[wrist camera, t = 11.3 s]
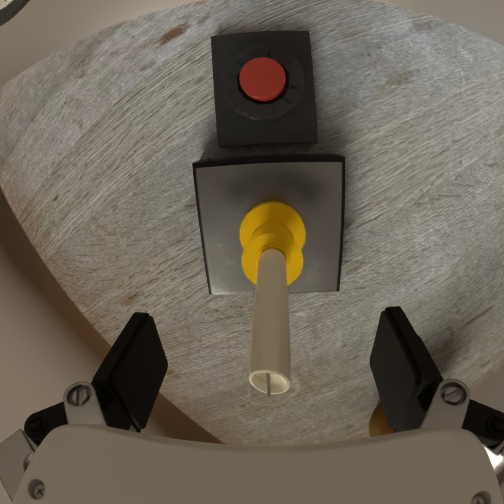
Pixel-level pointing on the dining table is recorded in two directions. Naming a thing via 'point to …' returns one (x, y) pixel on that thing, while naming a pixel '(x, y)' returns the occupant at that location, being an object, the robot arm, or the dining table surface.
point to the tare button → (262, 78)
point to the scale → (274, 190)
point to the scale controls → (264, 112)
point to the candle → (271, 289)
